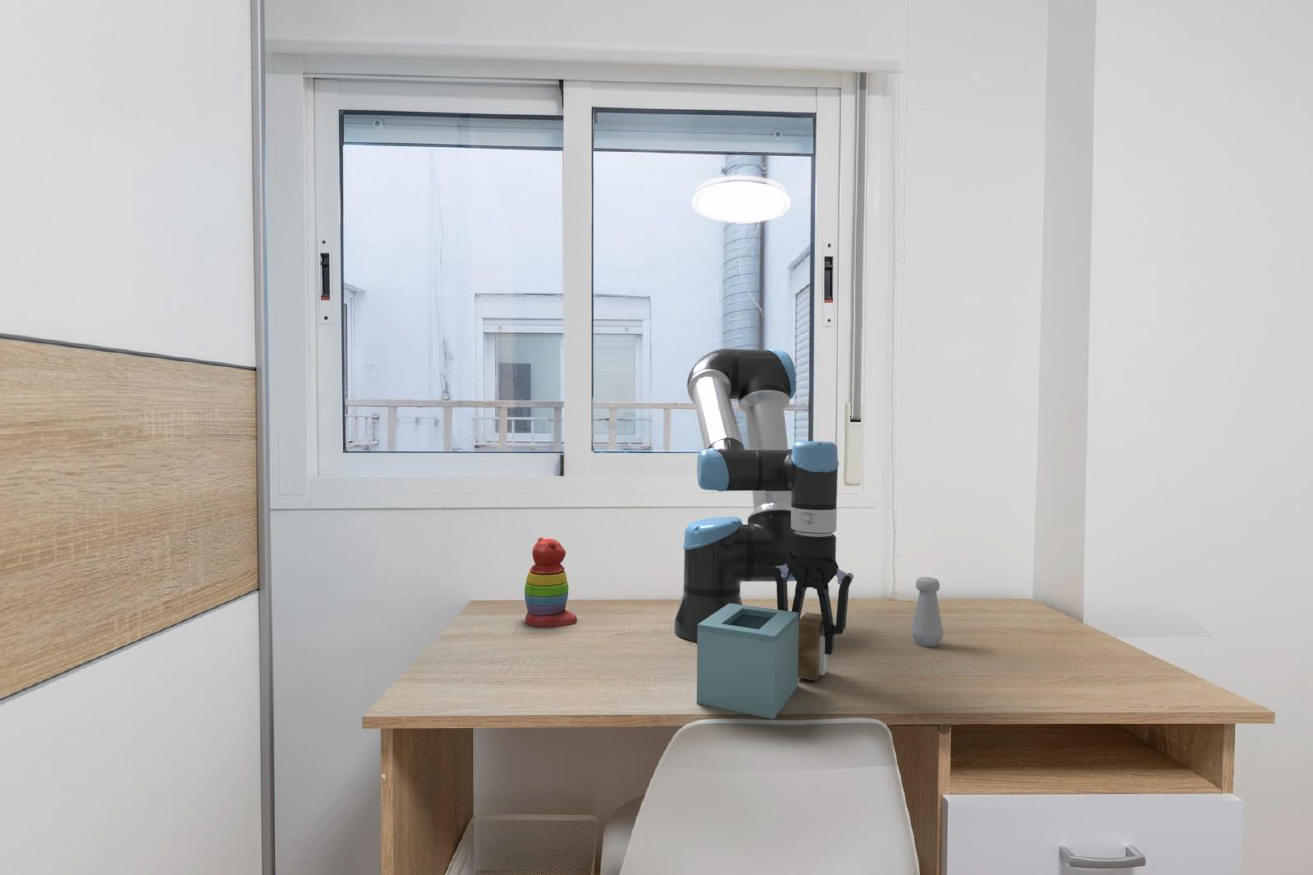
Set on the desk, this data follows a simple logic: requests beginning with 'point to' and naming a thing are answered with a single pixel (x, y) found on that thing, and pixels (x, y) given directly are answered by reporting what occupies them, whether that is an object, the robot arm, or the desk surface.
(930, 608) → the salt shaker
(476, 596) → the desk surface
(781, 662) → the coin box
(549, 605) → the stacking bear
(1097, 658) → the desk surface
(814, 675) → the block
